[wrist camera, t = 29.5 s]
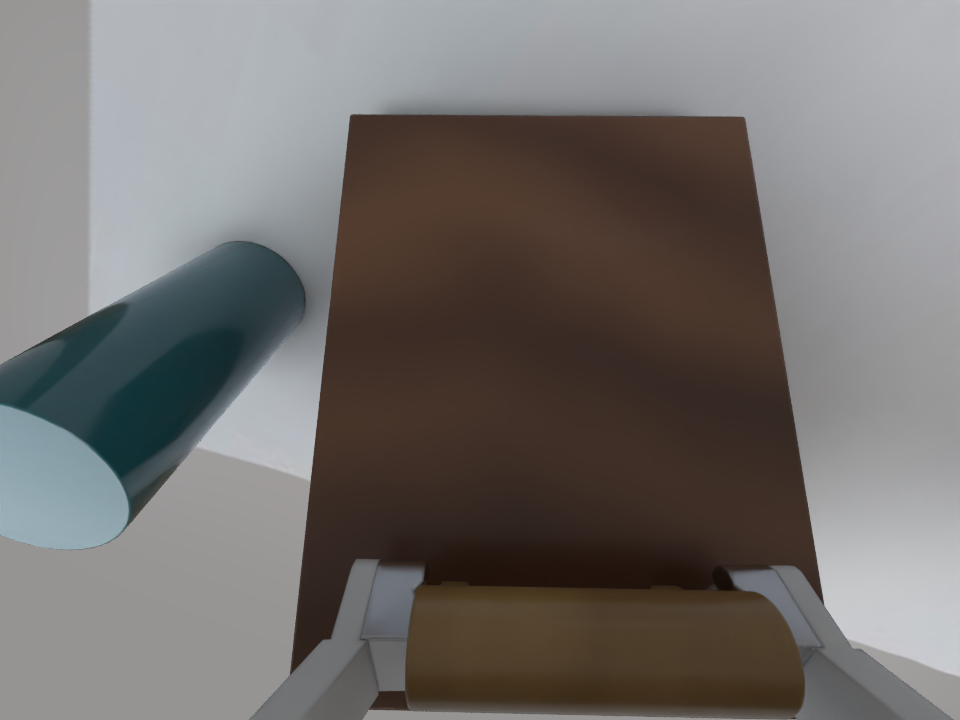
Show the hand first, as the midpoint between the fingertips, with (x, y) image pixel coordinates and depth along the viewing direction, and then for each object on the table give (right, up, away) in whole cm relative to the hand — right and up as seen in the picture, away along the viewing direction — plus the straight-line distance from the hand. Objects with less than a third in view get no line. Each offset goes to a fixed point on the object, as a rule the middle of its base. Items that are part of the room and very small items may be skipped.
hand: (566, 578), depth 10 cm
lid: (0, +4, +3) cm, 6 cm away
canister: (-13, +8, +13) cm, 20 cm away
